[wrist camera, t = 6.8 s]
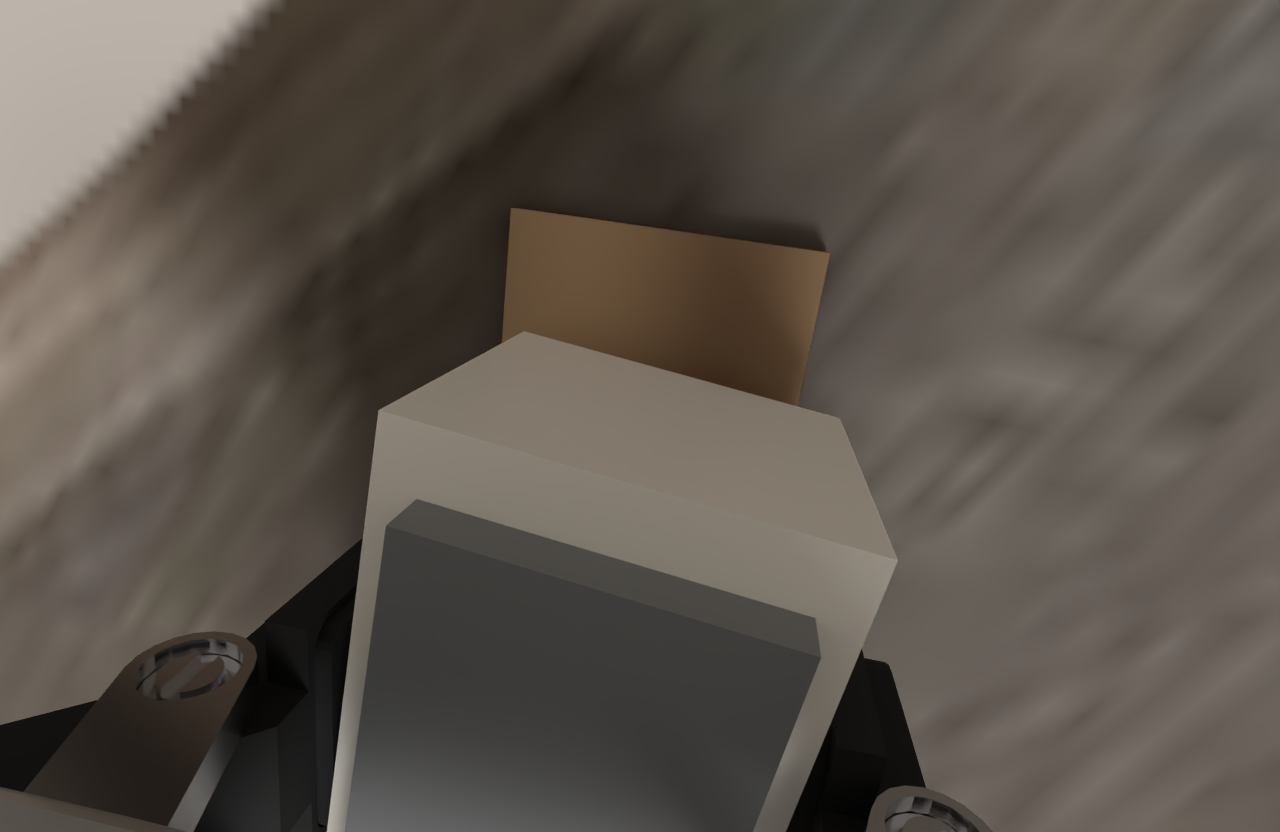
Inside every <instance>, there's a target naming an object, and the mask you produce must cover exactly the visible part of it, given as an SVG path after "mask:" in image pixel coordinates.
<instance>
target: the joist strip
mask: <svg viewBox="0 0 1280 832" xmlns="http://www.w3.org/2000/svg"><path fill="white" fill-rule="evenodd" d="M829 256H830V253H829V252H825V251H818V250H811V249H804V248H796V247H789V246H782V245H775V244H768V243H761V242H754V241H747V240H740V239H733V238H726V237H719V236H712V235H705V234H698V233H691V232H684V231H677V230H670V229H662V228H655V227H648V226H641V225H634V224H627V223H620V222H613V221H606V220H599V219H592V218H585V217H578V216H571V215H564V214H557V213H550V212H543V211H536V210H529V209H521V208H511V215H510V230H509V244H508V259H507V273H506V288H505V303H504V317H503V332H502V343H503V342H505V341H507V340H509V339H511V338H512V337H514V336H516V335H518V334H520V333H522V332H524V331H525V332H529V333H533V334H536V335H540V336H544V337H547V338H551V339H554V340H558V341H562V342H565V343H569V344H573V345H576V346H580V347H584V348H587V349H591V350H594V351H598V352H602V353H605V354H609V355H613V356H616V357H620V358H623V359H627V360H631V361H634V362H638V363H642V364H645V365H649V366H652V367H656V368H660V369H663V370H667V371H671V372H674V373H678V374H681V375H685V376H689V377H692V378H696V379H700V380H703V381H707V382H710V383H714V384H718V385H721V386H725V387H729V388H732V389H736V390H740V391H743V392H747V393H750V394H754V395H758V396H761V397H765V398H769V399H772V400H776V401H779V402H783V403H787V404H790V405H794V406H798V404H799V399H800V394H801V390H802V385H803V380H804V375H805V371H806V366H807V361H808V356H809V352H810V347H811V342H812V337H813V333H814V328H815V323H816V318H817V314H818V309H819V304H820V299H821V294H822V290H823V285H824V280H825V275H826V271H827V266H828V261H829Z"/></svg>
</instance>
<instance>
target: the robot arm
mask: <svg viewBox="0 0 1280 832" xmlns="http://www.w3.org/2000/svg"><path fill="white" fill-rule="evenodd" d="M362 541H363V538H362V539H361V540H360V541H359V542H357V543H356V544H355V545H354V546H353V547H352V548H350V549H349V550H348V551H347V552H346V553H344V554H343V555H342V556H341V557H340V558H339V559H337V560H336V561H335V562H334V563H333V564H332V565H330V566H329V567H328V568H327V569H326V570H324V571H323V572H322V573H321V574H320V575H319V576H317V577H316V578H315V579H314V580H313V581H311V582H310V583H309V584H308V585H307V586H306V587H304V588H303V589H302V590H301V591H300V592H299V593H297V594H296V595H295V596H294V597H293V598H291V599H290V600H289V601H288V602H287V603H286V604H284V605H283V606H282V607H281V608H280V609H279V610H277V611H276V612H275V613H274V614H273V615H271V616H270V617H269V618H268V619H267V620H266V621H265V623H264V624H263V625H261V626H260V627H259V628H258V629H257V630H256V631H254V632H253V633H252V634H251V635H250V636H249V637H247V638H244V637H241V636H238V635H236V634H233V633H225V632H216V631H213V632H199V633H192V634H188V635H183V636H179V637H174V638H172V639H169V640H167V641H164V642H162V643H159V644H156V645H154V646H152V647H151V648H149V649H147V650H146V651H144V652H142V653H141V654H139V655H137V656H136V657H135V658H134V659H133V660H132V661H131V662H130V663H128V664H127V665H126V666H125V667H124V668H123V670H122V671H121V672H120V673H119V674H118V676H117V677H116V678H115V679H114V681H113V682H112V683H111V684H110V686H109V687H108V688H107V689H106V690H105V692H104V693H103V694H102V695H101V697H100V698H99V699H98V700H96V701H92V702H88V703H84V704H80V705H77V706H73V707H69V708H65V709H61V710H57V711H53V712H50V713H46V714H42V715H38V716H34V717H30V718H26V719H22V720H19V721H15V722H11V723H7V724H3V725H0V832H327V826H328V818H329V810H330V802H331V794H332V786H333V777H334V769H335V761H336V753H337V745H338V737H339V729H340V720H341V712H342V704H343V696H344V688H345V680H346V671H347V663H348V655H349V647H350V639H351V631H352V622H353V614H354V606H355V598H356V590H357V582H358V574H359V565H360V557H361V549H362ZM786 832H992V831H991V829H990V828H989V827H988V826H987V825H986V824H985V823H984V821H983V820H982V819H980V818H979V817H978V816H977V815H975V814H974V813H973V812H972V811H970V810H969V809H968V808H967V807H965V806H964V805H962V804H961V803H959V802H957V801H955V800H953V799H951V798H950V797H948V796H946V795H944V794H942V793H939V792H936V791H933V790H930V789H927V788H926V787H925V783H924V780H923V776H922V773H921V770H920V766H919V763H918V760H917V756H916V753H915V749H914V746H913V743H912V739H911V736H910V733H909V729H908V726H907V722H906V719H905V716H904V712H903V709H902V705H901V702H900V699H899V695H898V692H897V689H896V685H895V682H894V678H893V675H892V672H891V669H890V667H889V665H888V664H887V663H885V662H881V661H876V660H871V659H866V658H864V656H863V652H862V649H861V651H860V654H859V656H858V659H857V661H856V663H855V666H854V668H853V671H852V673H851V676H850V678H849V680H848V683H847V685H846V688H845V690H844V692H843V695H842V697H841V700H840V702H839V705H838V707H837V709H836V712H835V714H834V717H833V719H832V721H831V724H830V726H829V729H828V731H827V733H826V736H825V738H824V741H823V743H822V746H821V748H820V750H819V753H818V755H817V758H816V760H815V762H814V765H813V767H812V770H811V772H810V775H809V777H808V779H807V782H806V784H805V787H804V789H803V791H802V794H801V796H800V799H799V801H798V804H797V806H796V808H795V811H794V813H793V816H792V818H791V820H790V823H789V825H788V828H787V830H786Z"/></svg>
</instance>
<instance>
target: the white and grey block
mask: <svg viewBox="0 0 1280 832" xmlns="http://www.w3.org/2000/svg"><path fill="white" fill-rule="evenodd" d="M897 562H898V559H897V557H896V554H895V552H894V550H893V547H892V545H891V542H890V540H889V537H888V535H887V532H886V530H885V527H884V525H883V523H882V520H881V518H880V515H879V513H878V510H877V508H876V505H875V503H874V501H873V498H872V496H871V493H870V491H869V488H868V486H867V483H866V481H865V479H864V476H863V474H862V471H861V469H860V466H859V464H858V461H857V459H856V456H855V454H854V452H853V449H852V447H851V444H850V442H849V439H848V437H847V434H846V432H845V430H844V427H843V425H842V422H841V420H840V418H837V417H834V416H830V415H827V414H823V413H819V412H816V411H812V410H808V409H805V408H801V407H798V406H794V405H790V404H787V403H783V402H779V401H776V400H772V399H769V398H765V397H761V396H758V395H754V394H750V393H747V392H743V391H740V390H736V389H732V388H729V387H725V386H721V385H718V384H714V383H710V382H707V381H703V380H700V379H696V378H692V377H689V376H685V375H681V374H678V373H674V372H671V371H667V370H663V369H660V368H656V367H652V366H649V365H645V364H642V363H638V362H634V361H631V360H627V359H623V358H620V357H616V356H613V355H609V354H605V353H602V352H598V351H594V350H591V349H587V348H584V347H580V346H576V345H573V344H569V343H565V342H562V341H558V340H554V339H551V338H547V337H544V336H540V335H536V334H533V333H529V332H525V331H524V332H522V333H520V334H518V335H516V336H514V337H512V338H511V339H509V340H507V341H505V342H503V343H501V344H500V345H498V346H496V347H494V348H492V349H490V350H488V351H487V352H485V353H483V354H481V355H479V356H477V357H476V358H474V359H472V360H470V361H468V362H466V363H465V364H463V365H461V366H459V367H457V368H455V369H453V370H452V371H450V372H448V373H446V374H444V375H442V376H441V377H439V378H437V379H435V380H433V381H431V382H429V383H428V384H426V385H424V386H422V387H420V388H418V389H417V390H415V391H413V392H411V393H409V394H407V395H406V396H404V397H402V398H400V399H398V400H396V401H394V402H393V403H391V404H389V405H387V406H385V407H383V408H382V409H380V410H378V419H377V427H376V435H375V443H374V451H373V459H372V468H371V476H370V484H369V492H368V500H367V508H366V516H365V525H364V533H363V541H362V549H361V557H360V565H359V574H358V582H357V590H356V598H355V606H354V614H353V622H352V631H351V639H350V647H349V655H348V663H347V671H346V680H345V688H344V696H343V704H342V712H341V720H340V729H339V737H338V745H337V753H336V761H335V769H334V777H333V786H332V794H331V802H330V810H329V818H328V826H327V832H786V830H787V828H788V825H789V823H790V820H791V818H792V816H793V813H794V811H795V808H796V806H797V804H798V801H799V799H800V796H801V794H802V791H803V789H804V787H805V784H806V782H807V779H808V777H809V775H810V772H811V770H812V767H813V765H814V762H815V760H816V758H817V755H818V753H819V750H820V748H821V746H822V743H823V741H824V738H825V736H826V733H827V731H828V729H829V726H830V724H831V721H832V719H833V717H834V714H835V712H836V709H837V707H838V705H839V702H840V700H841V697H842V695H843V692H844V690H845V688H846V685H847V683H848V680H849V678H850V676H851V673H852V671H853V668H854V666H855V663H856V661H857V659H858V656H859V654H860V651H861V649H862V647H863V644H864V642H865V639H866V637H867V634H868V632H869V630H870V627H871V625H872V622H873V620H874V618H875V615H876V613H877V610H878V608H879V605H880V603H881V601H882V598H883V596H884V593H885V591H886V589H887V586H888V584H889V581H890V579H891V576H892V574H893V572H894V569H895V567H896V564H897Z"/></svg>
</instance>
